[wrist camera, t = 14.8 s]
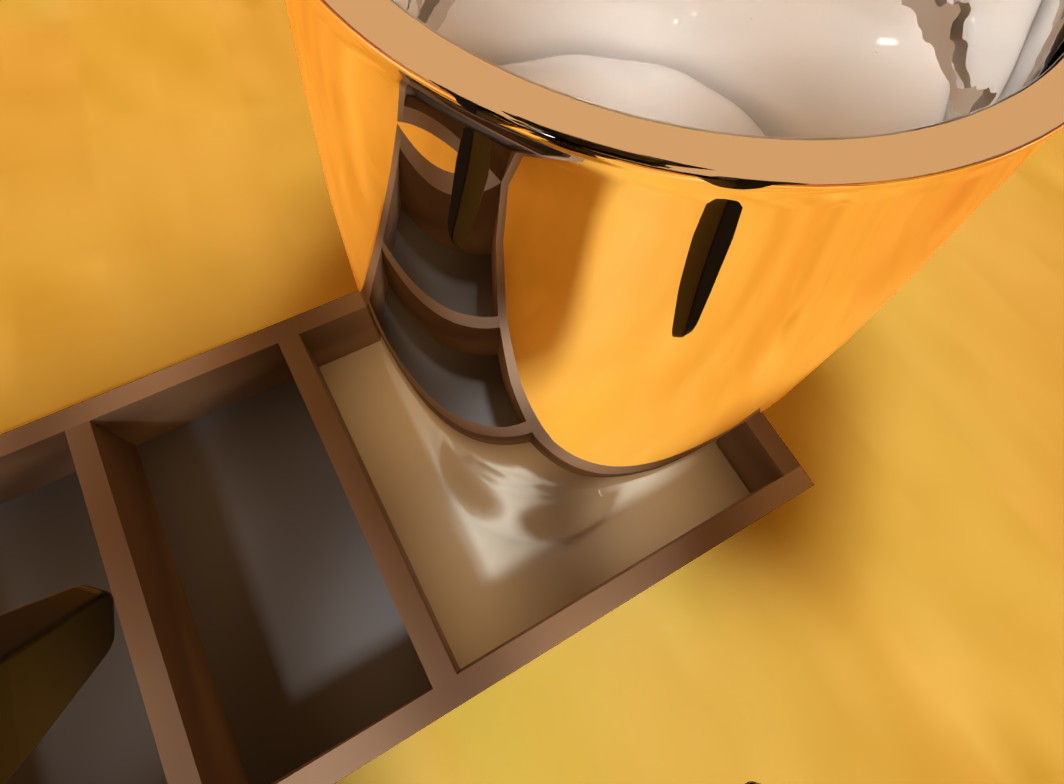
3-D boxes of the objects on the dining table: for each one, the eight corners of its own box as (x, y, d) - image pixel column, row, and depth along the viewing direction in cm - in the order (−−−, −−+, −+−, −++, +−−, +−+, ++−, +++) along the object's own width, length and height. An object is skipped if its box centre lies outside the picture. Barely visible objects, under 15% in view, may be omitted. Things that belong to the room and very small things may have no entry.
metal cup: (390, 523, 17) (-38, 10, 3) (461, 321, 20) (409, -434, 6) (623, 588, 17) (1317, 362, 3) (662, 375, 19) (1111, -271, 6)
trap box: (-16, 990, 13) (-127, 1071, 10) (-100, 531, 16) (-197, 514, 14) (772, 503, 18) (814, 484, 16) (588, 239, 22) (601, 192, 19)
